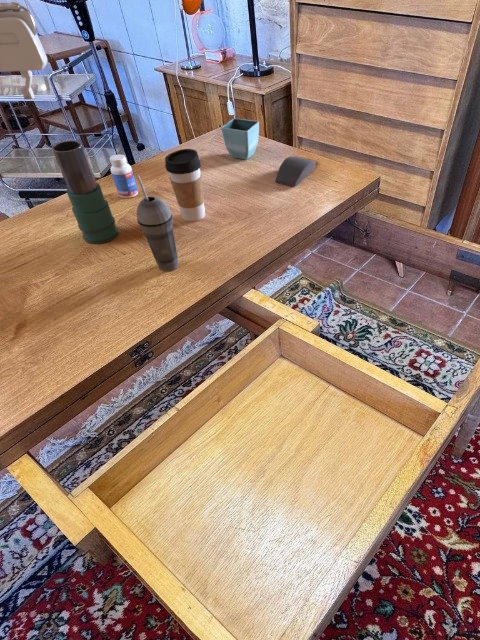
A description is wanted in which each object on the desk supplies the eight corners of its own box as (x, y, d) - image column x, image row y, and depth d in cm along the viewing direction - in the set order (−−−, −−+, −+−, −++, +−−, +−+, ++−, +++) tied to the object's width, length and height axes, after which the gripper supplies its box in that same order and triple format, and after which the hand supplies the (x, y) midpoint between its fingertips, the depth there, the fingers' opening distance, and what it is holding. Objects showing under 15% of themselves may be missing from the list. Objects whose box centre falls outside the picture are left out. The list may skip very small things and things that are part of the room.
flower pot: (262, 152, 140) (259, 120, 133) (250, 163, 135) (247, 131, 128) (237, 149, 143) (233, 117, 136) (224, 159, 137) (220, 127, 130)
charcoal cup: (67, 196, 99) (48, 153, 92) (71, 183, 103) (54, 141, 96) (95, 193, 99) (79, 150, 93) (99, 181, 103) (83, 139, 96)
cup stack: (81, 245, 107) (60, 199, 98) (86, 227, 112) (67, 181, 103) (117, 242, 108) (100, 195, 99) (120, 224, 113) (104, 178, 104)
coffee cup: (215, 217, 114) (205, 156, 103) (185, 227, 112) (171, 165, 100) (201, 204, 119) (189, 144, 107) (172, 214, 116) (157, 153, 104)
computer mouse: (318, 169, 132) (319, 154, 129) (296, 188, 124) (296, 173, 121) (295, 164, 134) (294, 150, 131) (272, 182, 127) (271, 167, 124)
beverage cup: (174, 277, 98) (148, 186, 82) (146, 271, 100) (116, 181, 84) (190, 260, 102) (169, 170, 87) (163, 254, 104) (137, 165, 88)
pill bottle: (134, 199, 122) (122, 162, 114) (115, 198, 122) (103, 161, 115) (141, 190, 125) (130, 153, 118) (123, 189, 126) (111, 152, 118)
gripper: (31, -2, 77) (63, 92, 87) (-96, 1, 75) (-47, 97, 85) (22, 5, 73) (57, 102, 83) (-112, 8, 71) (-59, 107, 81)
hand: (4, 99), depth 84 cm, fingers open, 8 cm apart
